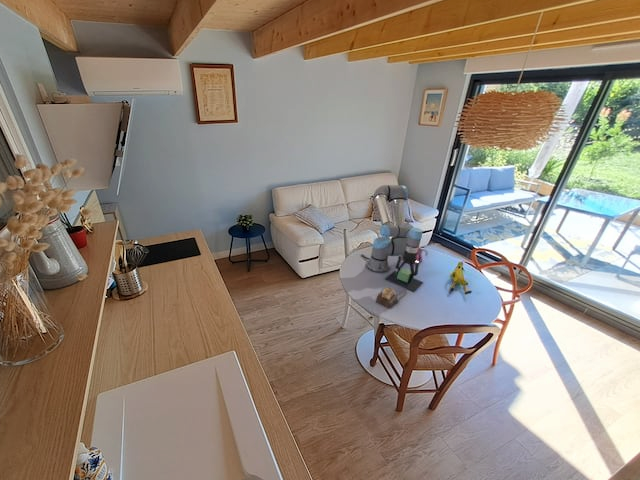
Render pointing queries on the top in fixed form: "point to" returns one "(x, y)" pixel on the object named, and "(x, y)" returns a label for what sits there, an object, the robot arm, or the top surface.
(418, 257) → the toy
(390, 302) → the walnut block
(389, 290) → the beech block
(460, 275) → the figurine
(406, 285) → the mat
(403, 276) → the green block
